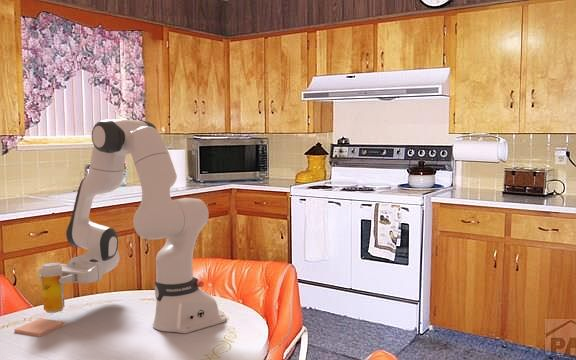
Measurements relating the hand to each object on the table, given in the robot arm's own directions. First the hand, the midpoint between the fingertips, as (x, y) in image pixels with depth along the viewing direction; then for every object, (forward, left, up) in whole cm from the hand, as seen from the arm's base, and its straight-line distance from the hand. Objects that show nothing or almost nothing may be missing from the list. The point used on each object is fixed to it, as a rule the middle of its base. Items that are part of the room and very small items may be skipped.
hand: (50, 280), depth 171 cm
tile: (0, 0, -14) cm, 14 cm away
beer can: (-1, -1, -10) cm, 10 cm away
